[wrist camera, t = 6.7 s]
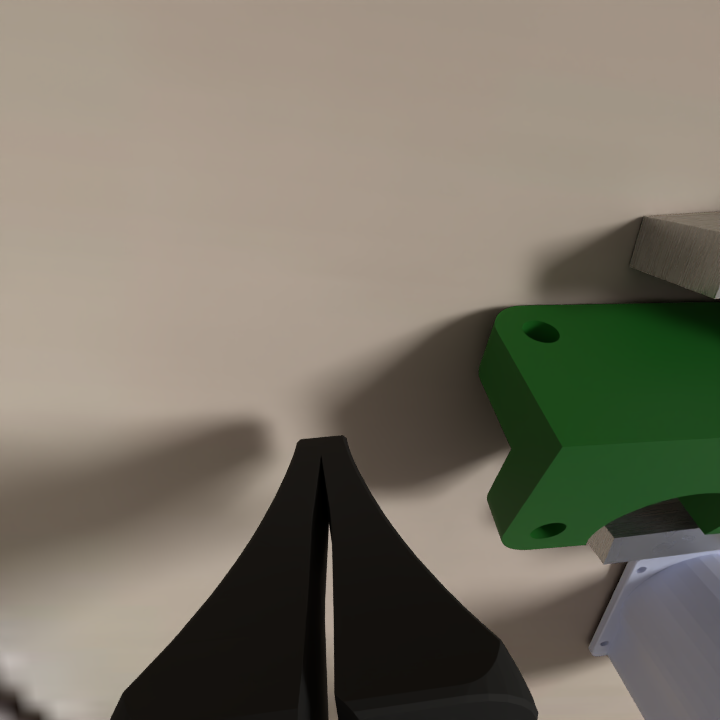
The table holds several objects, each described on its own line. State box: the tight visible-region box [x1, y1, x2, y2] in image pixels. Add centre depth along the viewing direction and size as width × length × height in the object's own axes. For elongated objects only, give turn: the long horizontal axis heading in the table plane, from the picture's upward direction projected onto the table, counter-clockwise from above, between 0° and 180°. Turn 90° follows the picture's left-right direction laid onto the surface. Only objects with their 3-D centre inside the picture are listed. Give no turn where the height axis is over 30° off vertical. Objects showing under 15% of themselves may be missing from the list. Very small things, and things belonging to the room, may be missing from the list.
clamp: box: [478, 302, 720, 550], centre depth 12 cm, size 11×6×8 cm, turn 82°
